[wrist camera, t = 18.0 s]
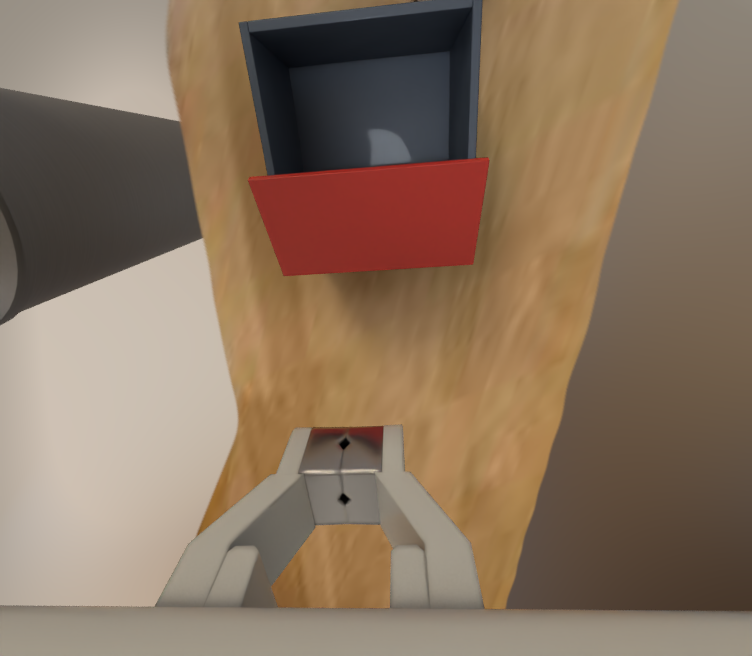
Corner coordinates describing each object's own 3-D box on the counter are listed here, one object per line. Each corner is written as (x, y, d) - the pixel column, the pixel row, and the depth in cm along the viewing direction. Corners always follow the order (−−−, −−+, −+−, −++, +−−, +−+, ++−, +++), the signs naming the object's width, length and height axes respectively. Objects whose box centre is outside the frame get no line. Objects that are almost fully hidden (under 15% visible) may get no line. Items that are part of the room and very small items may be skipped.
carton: (452, 236, 32) (471, 261, 24) (311, 246, 32) (286, 272, 25) (456, 43, 26) (483, -7, 18) (282, 62, 26) (238, 22, 19)
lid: (472, 261, 23) (473, 264, 23) (284, 272, 24) (283, 276, 24) (488, 156, 18) (489, 160, 18) (249, 176, 19) (247, 180, 19)
